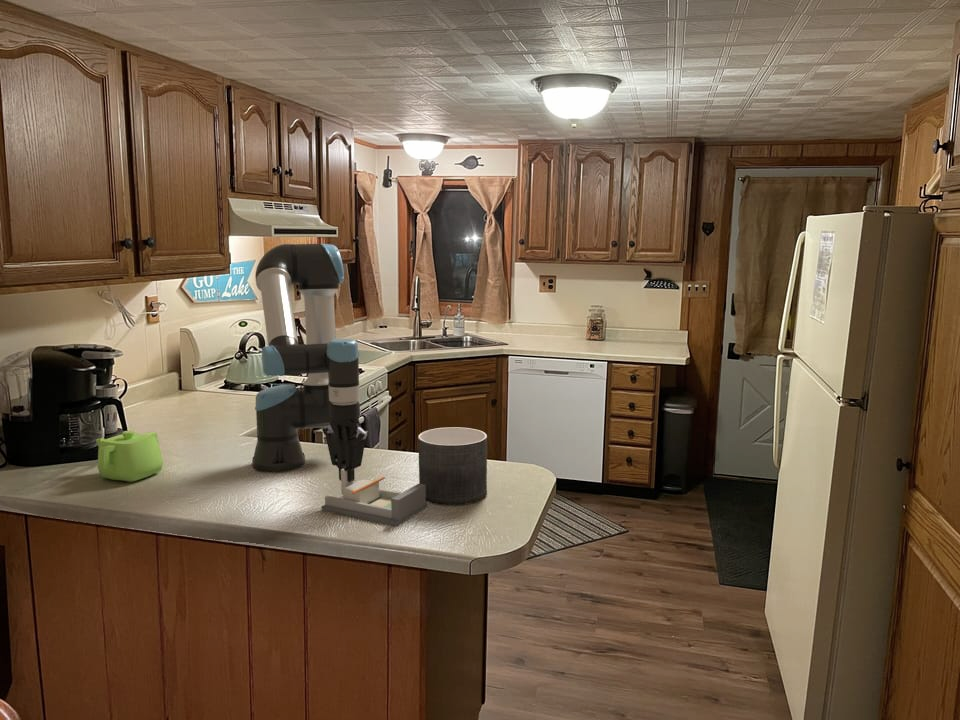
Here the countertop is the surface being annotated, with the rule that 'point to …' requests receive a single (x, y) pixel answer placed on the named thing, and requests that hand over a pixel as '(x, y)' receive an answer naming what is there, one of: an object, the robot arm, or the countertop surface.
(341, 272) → the robot arm
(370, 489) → the cream box orange strip
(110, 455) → the teapot
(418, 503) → the gauge base
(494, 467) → the countertop surface
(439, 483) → the planter
